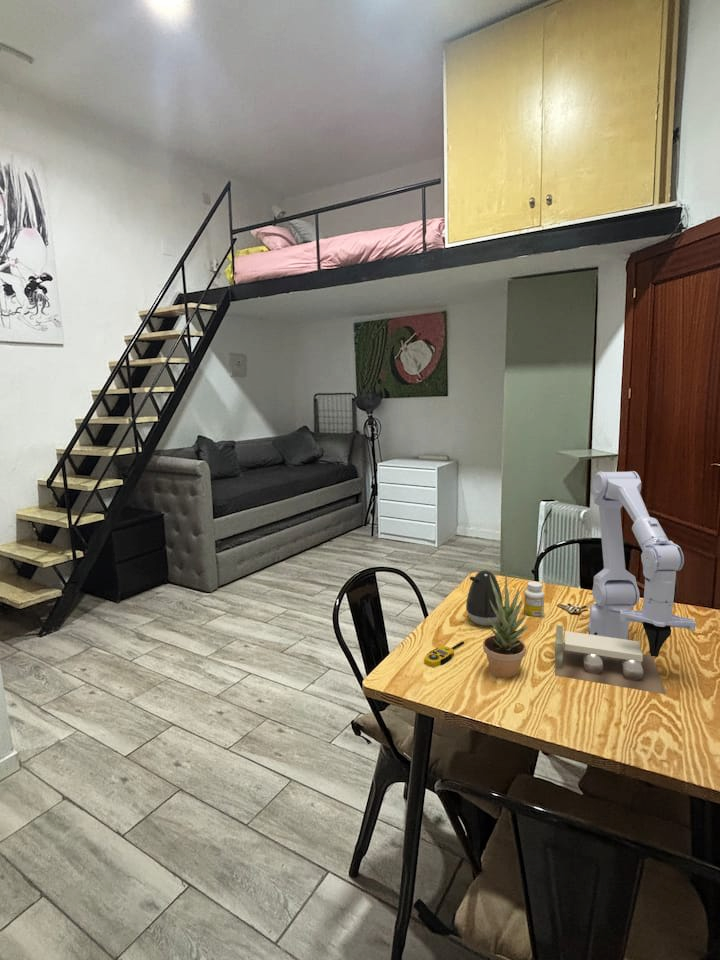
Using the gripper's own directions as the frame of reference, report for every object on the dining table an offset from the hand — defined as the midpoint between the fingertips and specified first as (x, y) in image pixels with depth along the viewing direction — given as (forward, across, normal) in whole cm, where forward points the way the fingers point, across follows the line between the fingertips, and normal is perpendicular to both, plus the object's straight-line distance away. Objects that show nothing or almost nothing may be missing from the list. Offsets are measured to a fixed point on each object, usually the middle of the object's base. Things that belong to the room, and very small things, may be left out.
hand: (653, 654), depth 116 cm
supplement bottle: (+6, -27, +25) cm, 37 cm away
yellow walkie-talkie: (+6, -46, -6) cm, 47 cm away
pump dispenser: (+6, -40, +16) cm, 43 cm away
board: (+5, -10, 0) cm, 11 cm away
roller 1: (+3, -11, 0) cm, 11 cm away
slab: (0, -11, 0) cm, 11 cm away
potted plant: (+6, -32, -10) cm, 34 cm away
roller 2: (+4, -3, 0) cm, 5 cm away
